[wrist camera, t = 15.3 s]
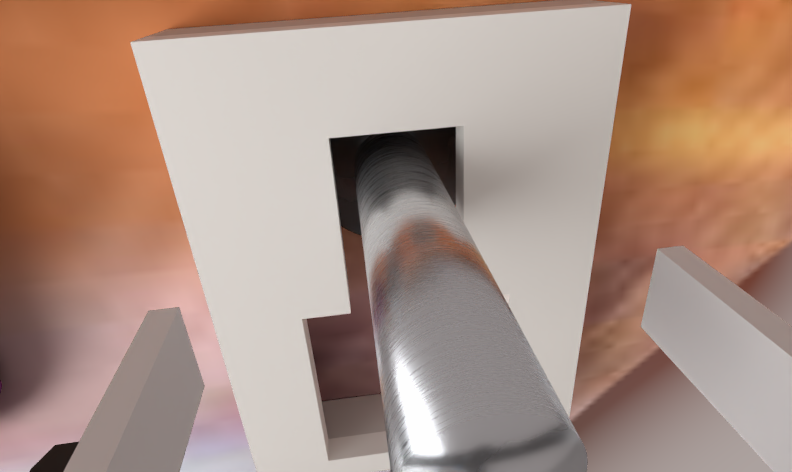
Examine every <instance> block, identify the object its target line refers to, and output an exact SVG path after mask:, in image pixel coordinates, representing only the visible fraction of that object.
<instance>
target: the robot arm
mask: <svg viewBox="0 0 792 472" xmlns="http://www.w3.org/2000/svg"><path fill="white" fill-rule="evenodd" d="M641 327H642V329H643V330H644V331H645V332H646V333H647V334H648V335H649V336H650V337H651V338H652V340H653V341H654V342H655V343H656V344H657V345H658V346H659V347H660V348H661V349H662V350H663V352H664V353H665V354H666V355H667V356H668V357H669V358H670V359H671V360H672V361H673V363H674V364H675V365H676V366H677V367H678V368H679V369H680V370H681V371H682V372H683V373H684V375H686V377H687V378H688V379H689V380H690V381H691V382H692V383H693V384H694V385H695V387H696V388H697V389H698V390H699V391H700V392H701V393H702V394H703V395H704V396H705V398H706V399H707V400H708V401H709V402H710V403H711V404H712V405H713V406H714V407H715V408H716V410H717V411H718V412H719V413H720V414H721V415H722V416H723V417H724V418H725V419H726V420H727V422H728V423H729V424H730V425H731V426H732V427H733V428H734V429H735V430H736V431H737V433H738V434H739V435H740V436H741V437H742V438H743V439H744V440H745V441H746V442H747V444H749V446H750V447H751V448H752V449H753V450H754V451H755V452H756V453H757V454H758V456H759V457H760V458H761V459H762V460H763V461H764V462H765V463H766V464H767V465H768V467H769V468H770V469H771V470H772V471H773V472H792V326H791V325H789V324H788V323H787V322H785V321H784V320H783V319H781V318H780V317H779V316H777V315H776V314H775V313H773V312H772V311H771V310H769V309H768V308H766V307H765V306H764V305H762V304H761V303H759V302H758V301H757V300H756V299H754V298H753V297H752V296H750V295H749V294H748V293H746V292H745V291H744V290H742V289H741V288H739V287H738V286H737V285H735V284H734V283H733V282H731V281H730V280H729V279H727V278H726V277H725V276H723V275H722V274H721V273H719V272H718V271H717V270H715V269H714V268H712V267H711V266H710V265H708V264H707V263H706V262H704V261H703V260H702V259H700V258H699V257H698V256H696V255H695V254H694V253H692V252H691V251H690V250H688V249H687V248H685V247H684V246H676V247H667V248H659V249H657V253H656V258H655V262H654V267H653V272H652V276H651V281H650V286H649V291H648V295H647V300H646V305H645V309H644V314H643V319H642V324H641ZM203 390H204V383H203V380H202V377H201V373H200V370H199V367H198V364H197V361H196V358H195V355H194V352H193V349H192V346H191V343H190V339H189V336H188V333H187V330H186V327H185V324H184V321H183V318H182V315H181V312H180V309H179V307H175V308H167V309H159V310H151V311H148V313H147V315H146V316H145V318H144V320H143V322H142V324H141V326H140V328H139V330H138V332H137V333H136V335H135V337H134V339H133V341H132V343H131V345H130V347H129V349H128V350H127V352H126V354H125V356H124V358H123V360H122V362H121V364H120V366H119V367H118V369H117V371H116V373H115V375H114V377H113V379H112V381H111V383H110V385H109V386H108V388H107V390H106V392H105V394H104V396H103V398H102V400H101V402H100V403H99V405H98V407H97V409H96V411H95V413H94V415H93V417H92V419H91V420H90V422H89V424H88V426H87V428H86V430H85V432H84V434H83V436H82V437H81V439H80V441H79V442H74V443H67V444H60V445H55V446H54V447H53V448H52V449H51V450H50V451H49V452H48V453H47V454H46V455H45V456H44V457H43V458H42V459H41V460H40V461H39V462H38V463H37V464H36V465H35V466H34V467H33V468H31V470H30V472H179V471H180V468H181V465H182V461H183V458H184V454H185V451H186V448H187V444H188V441H189V437H190V434H191V431H192V427H193V424H194V420H195V417H196V413H197V410H198V407H199V403H200V400H201V396H202V393H203Z"/></svg>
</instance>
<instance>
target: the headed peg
mask: <svg viewBox="0 0 792 472" xmlns="http://www.w3.org/2000/svg"><path fill="white" fill-rule="evenodd" d="M330 143H331V150H332V158H333V166H334V174H335V182H336V190H337V198H338V206H339V214H340V222H341V226H342V227H344V228H346V229H347V230H350V231H352V232H354V233H356V234H359V235H362V242H363V250H364V258H365V266H366V274H367V282H368V291H369V299H370V307H371V315H372V323H373V331H374V339H375V347H376V356H377V364H378V372H379V380H380V388H381V396H382V404H383V412H384V421H385V429H386V437H387V445H388V453H389V461H390V469H391V472H586V471H587V463H588V462H587V453H586V450H585V447H584V444H583V443H582V441H581V439H580V437H579V435H578V433H577V431H576V430H575V428H574V426H573V424H572V422H571V420H570V418H569V417H568V415H567V413H566V411H565V409H564V407H563V405H562V404H561V402H560V400H559V398H558V396H557V394H556V393H555V391H554V389H553V387H552V385H551V383H550V381H549V380H548V378H547V376H546V374H545V372H544V370H543V368H542V367H541V365H540V363H539V361H538V359H537V357H536V355H535V354H534V352H533V350H532V348H531V346H530V344H529V342H528V341H527V339H526V337H525V335H524V333H523V331H522V329H521V328H520V326H519V324H518V322H517V320H516V318H515V316H514V315H513V313H512V311H511V309H510V307H509V305H508V303H507V302H506V300H505V298H504V296H503V294H502V292H501V290H500V289H499V287H498V285H497V283H496V281H495V279H494V277H493V276H492V274H491V272H490V270H489V268H488V266H487V264H486V263H485V261H484V259H483V257H482V255H481V253H480V251H479V250H478V248H477V246H476V244H475V242H474V240H473V238H472V237H471V235H470V233H469V231H468V229H467V227H466V226H465V224H464V222H463V220H462V218H461V216H460V214H459V213H458V211H457V209H456V207H455V205H456V127H446V128H435V129H424V130H413V131H402V132H392V133H381V134H370V135H359V136H349V137H338V138H330Z"/></svg>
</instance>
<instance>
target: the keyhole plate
mask: <svg viewBox="0 0 792 472" xmlns="http://www.w3.org/2000/svg"><path fill="white" fill-rule="evenodd" d="M630 10H631V4H625V3H615V2H606V1H596V0H553V1H540V2H526V3H513V4H500V5H486V6H473V7H459V8H446V9H432V10H419V11H405V12H392V13H378V14H365V15H351V16H338V17H325V18H311V19H298V20H284V21H271V22H257V23H244V24H230V25H217V26H203V27H190V28H176V29H167V30H164V31H161V32H158V33H155V34H152V35H149V36H147V37H144V38H141V39H138V40H135V41H132V42H130V43H131V46H132V50H133V53H134V56H135V60H136V63H137V67H138V70H139V73H140V77H141V80H142V84H143V87H144V90H145V94H146V97H147V101H148V104H149V107H150V111H151V114H152V118H153V121H154V124H155V128H156V131H157V135H158V138H159V141H160V145H161V148H162V152H163V155H164V158H165V162H166V165H167V169H168V172H169V175H170V179H171V182H172V186H173V189H174V192H175V196H176V199H177V202H178V206H179V209H180V213H181V216H182V219H183V223H184V226H185V230H186V233H187V236H188V240H189V243H190V247H191V250H192V253H193V257H194V260H195V264H196V267H197V270H198V274H199V277H200V281H201V284H202V287H203V291H204V294H205V298H206V301H207V304H208V308H209V311H210V315H211V318H212V321H213V325H214V328H215V332H216V335H217V338H218V342H219V345H220V349H221V352H222V355H223V359H224V362H225V366H226V369H227V372H228V376H229V379H230V383H231V386H232V389H233V393H234V396H235V400H236V403H237V406H238V410H239V413H240V417H241V420H242V423H243V427H244V430H245V434H246V437H247V440H248V444H249V447H250V451H251V454H252V457H253V461H254V464H255V468H256V471H257V472H378V471H384V470H391V469H390V461H389V453H388V445H387V437H386V429H385V421H384V412H383V404H382V396H381V394H375V395H367V396H359V397H352V398H344V399H337V400H329V401H321V395H320V390H319V384H318V379H317V373H316V368H315V362H314V357H313V351H312V346H311V340H310V335H309V329H308V324H307V319H308V318H316V317H325V316H333V315H341V314H350V313H351V307H350V293H349V285H348V277H347V270H346V262H345V254H344V246H343V238H342V230H341V222H340V214H339V206H338V198H337V190H336V182H335V174H334V166H333V158H332V150H331V143H330V138H338V137H349V136H359V135H370V134H381V133H392V132H402V131H413V130H424V129H435V128H446V127H456V209H457V211H458V213H459V214H460V216H461V218H462V220H463V222H464V224H465V226H466V227H467V229H468V231H469V233H470V235H471V237H472V238H473V240H474V242H475V244H476V246H477V248H478V250H479V251H480V253H481V255H482V257H483V259H484V261H485V263H486V264H487V266H488V268H489V270H490V272H491V274H492V276H493V277H494V279H495V281H496V283H497V285H498V287H499V289H500V290H501V292H502V294H503V296H504V298H505V300H506V302H507V303H508V305H509V307H510V309H511V311H512V313H513V315H514V316H515V318H516V320H517V322H518V324H519V326H520V328H521V329H522V331H523V333H524V335H525V337H526V339H527V341H528V342H529V344H530V346H531V348H532V350H533V352H534V354H535V355H536V357H537V359H538V361H539V363H540V365H541V367H542V368H543V370H544V372H545V374H546V376H547V378H548V380H549V381H550V383H551V385H552V387H553V389H554V391H555V393H556V394H557V396H558V398H559V400H560V402H561V404H562V405H563V407H564V409H565V411H566V413H567V415H568V417H569V416H570V409H571V403H572V396H573V389H574V383H575V376H576V369H577V363H578V356H579V349H580V343H581V336H582V329H583V323H584V316H585V310H586V303H587V296H588V290H589V283H590V276H591V270H592V263H593V256H594V250H595V243H596V236H597V230H598V223H599V216H600V210H601V203H602V196H603V190H604V183H605V176H606V170H607V163H608V156H609V150H610V143H611V136H612V130H613V123H614V116H615V110H616V103H617V97H618V90H619V83H620V77H621V70H622V63H623V57H624V50H625V43H626V37H627V30H628V23H629V17H630Z"/></svg>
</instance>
